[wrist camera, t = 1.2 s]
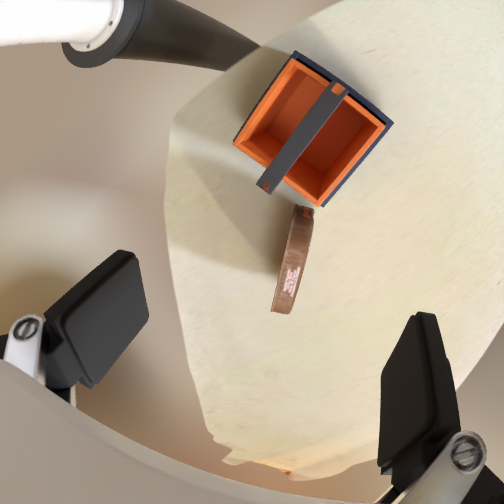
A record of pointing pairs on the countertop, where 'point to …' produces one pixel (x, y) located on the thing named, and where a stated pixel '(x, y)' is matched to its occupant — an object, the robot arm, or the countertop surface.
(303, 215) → the tin
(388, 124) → the bin outer
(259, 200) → the countertop surface
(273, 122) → the basket
